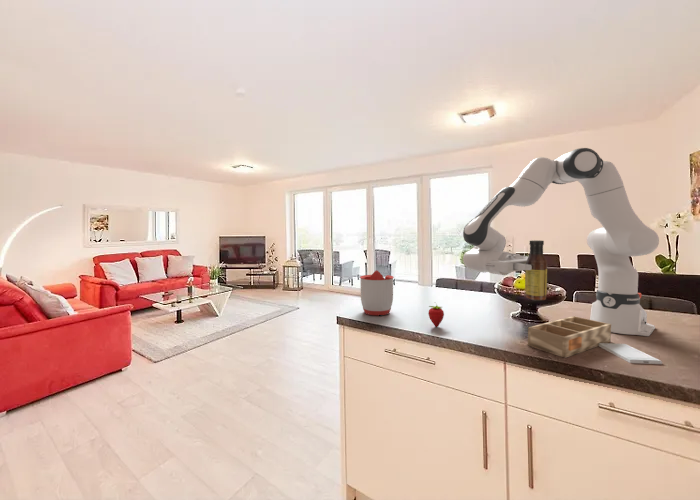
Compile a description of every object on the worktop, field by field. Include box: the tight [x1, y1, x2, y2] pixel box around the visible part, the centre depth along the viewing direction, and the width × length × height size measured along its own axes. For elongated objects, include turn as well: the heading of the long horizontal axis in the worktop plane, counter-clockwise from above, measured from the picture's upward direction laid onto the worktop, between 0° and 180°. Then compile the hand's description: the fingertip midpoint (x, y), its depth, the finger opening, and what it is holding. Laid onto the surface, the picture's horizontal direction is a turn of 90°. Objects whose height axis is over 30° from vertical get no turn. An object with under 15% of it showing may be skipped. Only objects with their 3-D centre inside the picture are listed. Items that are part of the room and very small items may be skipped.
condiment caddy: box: [527, 315, 612, 359], centre depth 97 cm, size 27×12×6 cm, turn 117°
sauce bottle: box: [524, 239, 548, 301], centre depth 99 cm, size 7×6×20 cm
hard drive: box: [598, 342, 663, 365], centre depth 89 cm, size 2×8×12 cm
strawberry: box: [428, 303, 445, 328], centre depth 116 cm, size 6×8×10 cm
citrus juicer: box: [359, 270, 394, 316], centre depth 138 cm, size 16×17×20 cm
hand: (539, 266), depth 98 cm, fingers closed on sauce bottle, 6 cm apart
